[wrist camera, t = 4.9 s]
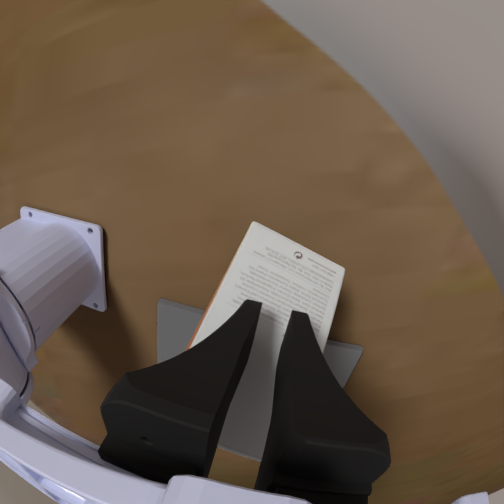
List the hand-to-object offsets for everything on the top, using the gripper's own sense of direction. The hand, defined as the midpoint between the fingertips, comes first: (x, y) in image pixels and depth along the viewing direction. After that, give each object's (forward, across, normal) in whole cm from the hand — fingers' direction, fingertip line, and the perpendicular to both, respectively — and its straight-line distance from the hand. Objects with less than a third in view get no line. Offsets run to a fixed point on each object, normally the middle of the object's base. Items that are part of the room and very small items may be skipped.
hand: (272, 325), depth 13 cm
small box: (+7, 0, +2) cm, 7 cm away
